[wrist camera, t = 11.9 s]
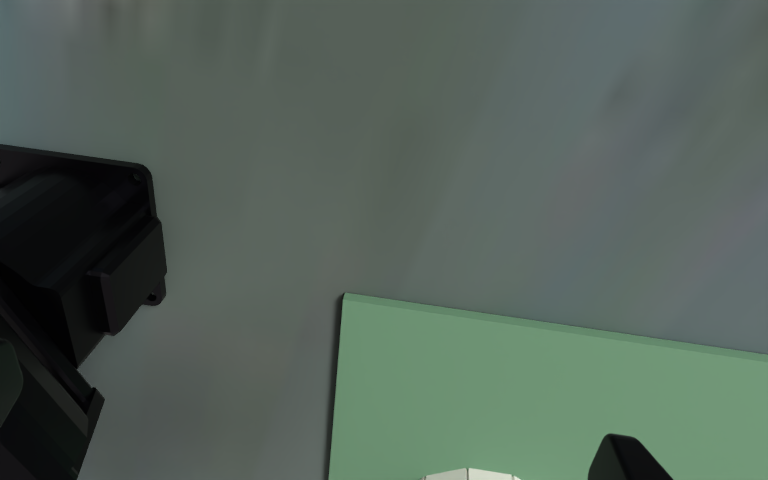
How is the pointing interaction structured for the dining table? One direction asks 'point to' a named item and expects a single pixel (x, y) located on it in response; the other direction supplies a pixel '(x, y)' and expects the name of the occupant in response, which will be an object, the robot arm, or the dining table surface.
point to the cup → (470, 475)
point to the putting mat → (534, 397)
